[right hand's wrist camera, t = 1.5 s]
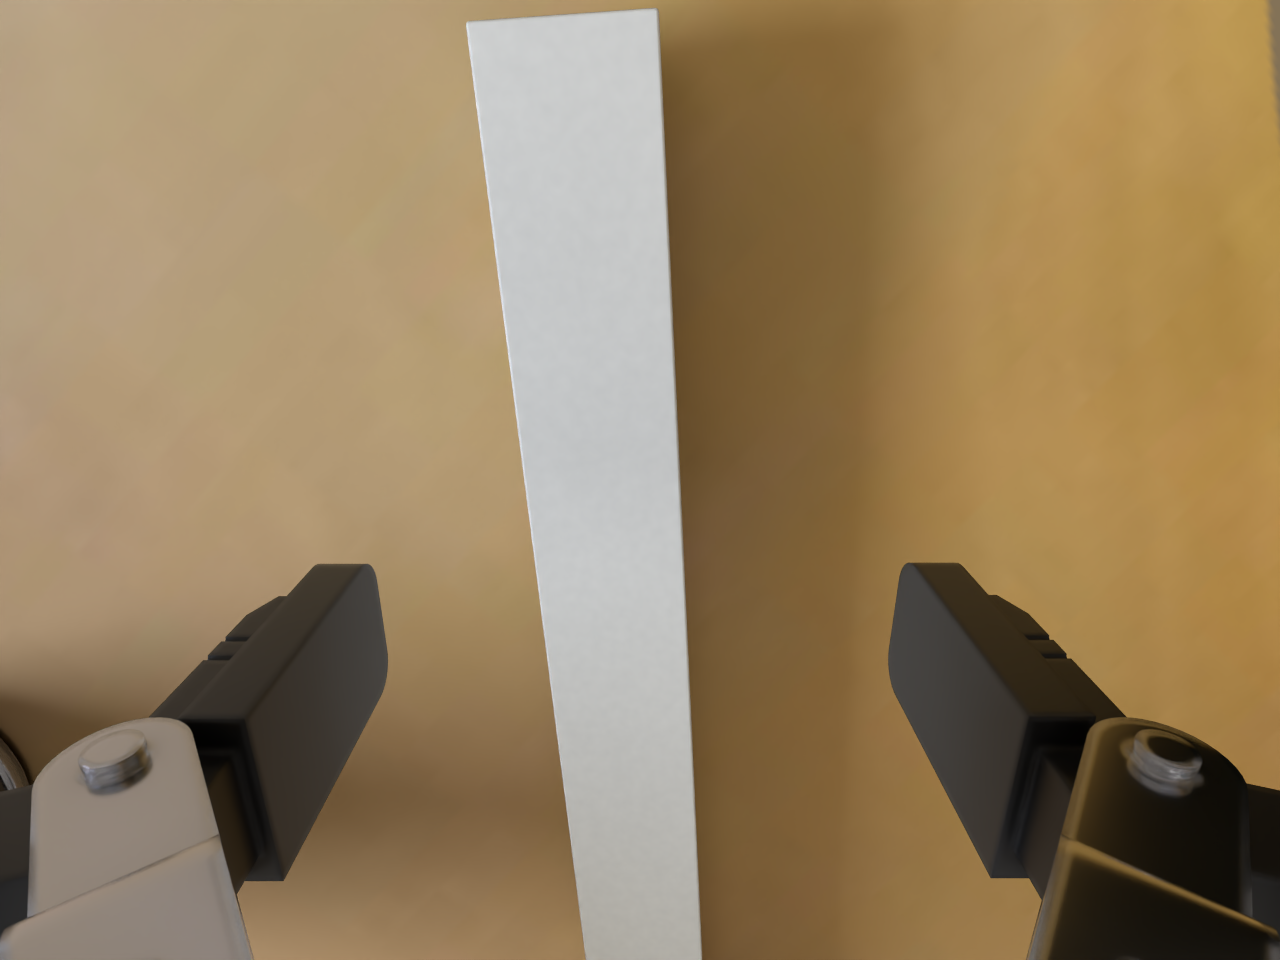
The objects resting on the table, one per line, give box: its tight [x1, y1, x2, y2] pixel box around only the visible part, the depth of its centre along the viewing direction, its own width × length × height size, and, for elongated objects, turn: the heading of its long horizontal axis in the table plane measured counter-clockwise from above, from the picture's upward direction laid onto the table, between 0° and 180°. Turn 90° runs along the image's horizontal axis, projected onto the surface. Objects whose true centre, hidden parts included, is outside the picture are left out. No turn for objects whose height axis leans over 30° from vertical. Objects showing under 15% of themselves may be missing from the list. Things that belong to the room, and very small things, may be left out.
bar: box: [466, 8, 702, 960], centre depth 29 cm, size 57×4×6 cm, turn 4°
